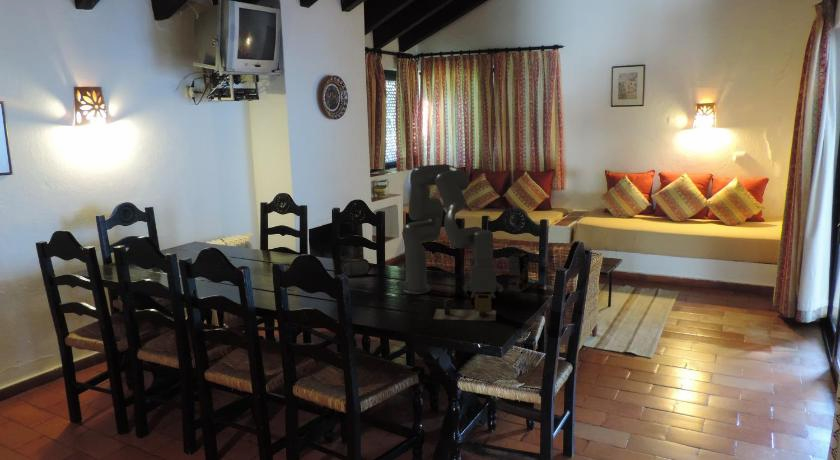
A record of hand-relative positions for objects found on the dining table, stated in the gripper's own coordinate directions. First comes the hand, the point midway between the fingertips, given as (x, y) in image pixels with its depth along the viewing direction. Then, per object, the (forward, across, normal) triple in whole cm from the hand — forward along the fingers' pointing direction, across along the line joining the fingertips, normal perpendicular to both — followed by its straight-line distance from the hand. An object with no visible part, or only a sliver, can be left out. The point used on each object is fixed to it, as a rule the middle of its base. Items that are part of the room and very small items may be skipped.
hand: (483, 306), depth 235 cm
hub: (+3, 0, 0) cm, 3 cm away
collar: (+1, 0, 0) cm, 1 cm away
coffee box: (+5, +15, +41) cm, 44 cm away
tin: (+4, -65, +59) cm, 88 cm away
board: (+5, -7, 0) cm, 8 cm away
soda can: (+5, -3, +35) cm, 36 cm away
